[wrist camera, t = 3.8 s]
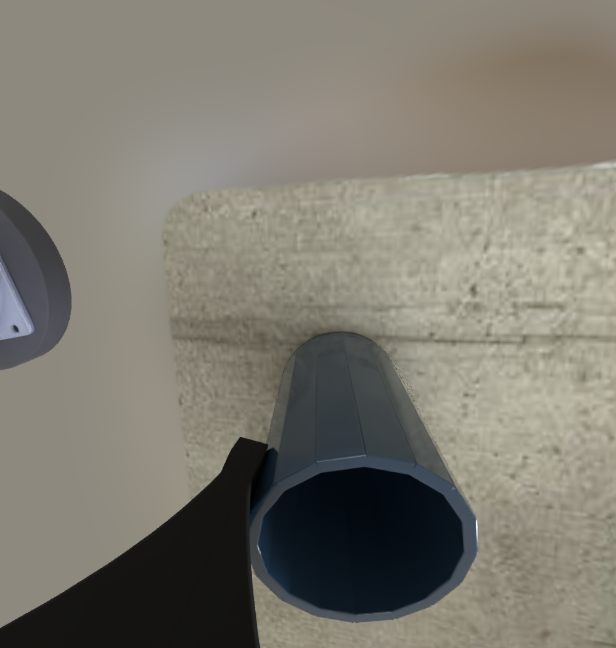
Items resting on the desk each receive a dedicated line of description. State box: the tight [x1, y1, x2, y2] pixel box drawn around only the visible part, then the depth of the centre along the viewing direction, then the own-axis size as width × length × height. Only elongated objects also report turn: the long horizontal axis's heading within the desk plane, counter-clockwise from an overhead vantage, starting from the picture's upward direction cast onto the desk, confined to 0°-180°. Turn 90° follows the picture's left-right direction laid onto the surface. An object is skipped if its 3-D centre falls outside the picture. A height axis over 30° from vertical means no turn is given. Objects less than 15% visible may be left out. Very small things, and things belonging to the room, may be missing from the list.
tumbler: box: [250, 332, 478, 623], centre depth 13 cm, size 6×6×9 cm
